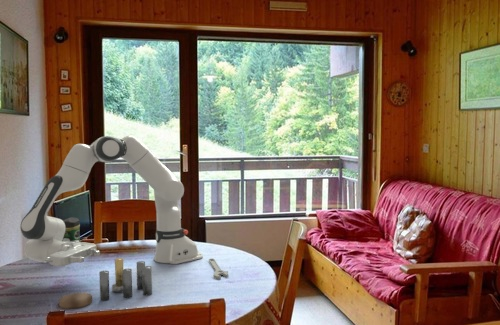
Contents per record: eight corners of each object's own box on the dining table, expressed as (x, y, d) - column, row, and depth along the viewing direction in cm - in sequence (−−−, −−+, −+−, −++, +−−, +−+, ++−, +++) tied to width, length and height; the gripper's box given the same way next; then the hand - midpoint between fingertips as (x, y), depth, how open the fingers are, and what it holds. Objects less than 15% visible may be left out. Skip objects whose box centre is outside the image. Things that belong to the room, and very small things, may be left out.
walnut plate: (90, 294, 161) (90, 290, 161) (94, 305, 151) (94, 301, 151) (57, 300, 156) (57, 295, 156) (59, 311, 146) (59, 307, 146)
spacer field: (98, 300, 156) (97, 272, 155) (125, 284, 171) (125, 259, 171) (135, 305, 151) (134, 277, 150) (159, 288, 167) (159, 263, 166)
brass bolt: (126, 286, 169) (125, 256, 168) (128, 291, 164) (128, 260, 163) (111, 289, 166) (110, 258, 165) (113, 294, 161) (112, 262, 160)
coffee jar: (68, 253, 213) (66, 216, 212) (83, 253, 213) (82, 216, 211) (57, 259, 204) (55, 220, 202) (73, 259, 203) (72, 220, 201)
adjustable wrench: (208, 262, 201) (208, 258, 201) (222, 261, 202) (222, 257, 202) (214, 280, 177) (214, 275, 177) (229, 279, 178) (229, 274, 178)
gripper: (41, 251, 162) (71, 255, 158) (79, 239, 181) (107, 242, 177) (41, 268, 162) (72, 272, 158) (79, 254, 182) (107, 257, 178)
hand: (90, 256), depth 168 cm, fingers open, 8 cm apart
